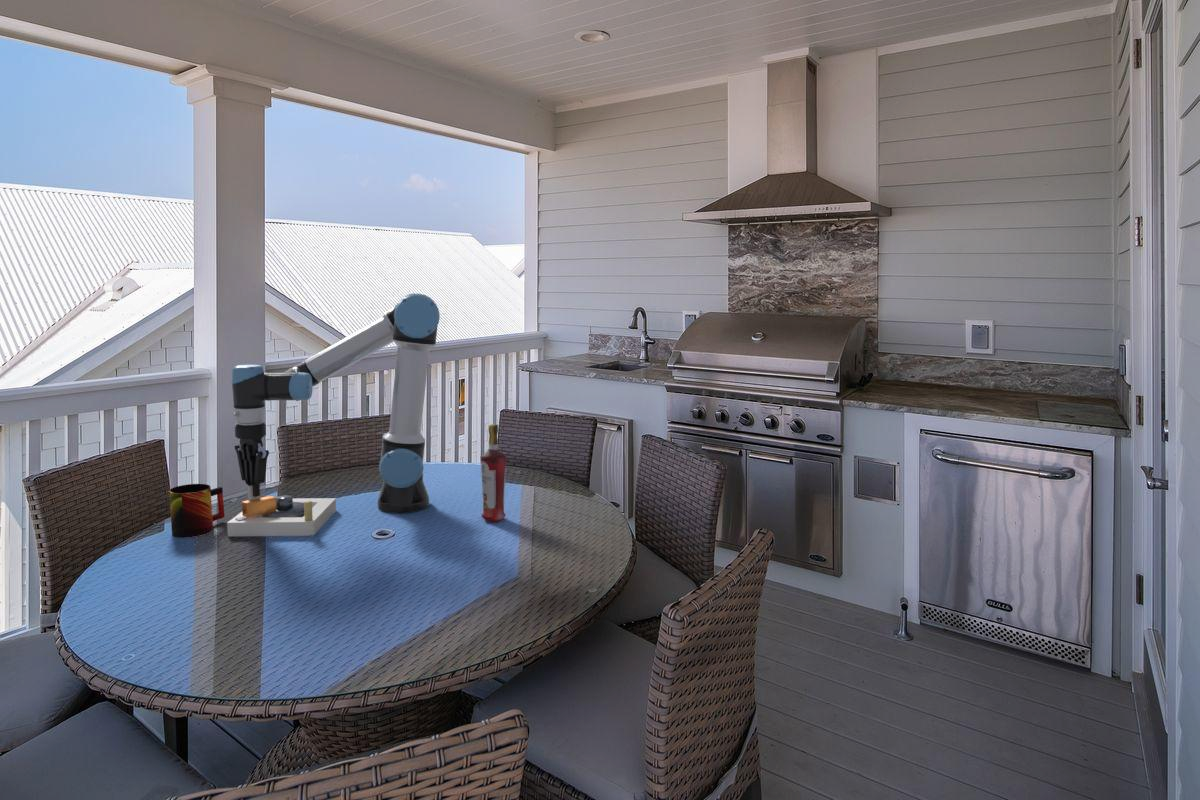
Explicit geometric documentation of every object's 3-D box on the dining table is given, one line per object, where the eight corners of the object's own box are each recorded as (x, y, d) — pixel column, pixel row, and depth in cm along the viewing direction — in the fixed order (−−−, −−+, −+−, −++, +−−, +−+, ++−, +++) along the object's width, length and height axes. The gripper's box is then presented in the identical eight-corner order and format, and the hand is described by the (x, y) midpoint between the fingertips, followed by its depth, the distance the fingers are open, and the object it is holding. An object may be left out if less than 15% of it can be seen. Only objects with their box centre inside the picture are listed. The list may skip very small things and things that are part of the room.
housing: (336, 510, 213) (335, 481, 212) (313, 535, 191) (312, 503, 190) (259, 511, 211) (258, 482, 210) (228, 536, 189) (226, 504, 188)
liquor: (475, 519, 207) (474, 424, 203) (495, 514, 213) (495, 421, 208) (491, 525, 202) (491, 428, 198) (511, 520, 208) (511, 425, 203)
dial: (294, 505, 209) (293, 486, 208) (316, 514, 202) (315, 494, 201) (235, 519, 196) (233, 498, 195) (255, 529, 189) (254, 507, 188)
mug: (225, 520, 202) (222, 479, 200) (204, 537, 188) (201, 493, 187) (189, 521, 201) (186, 479, 199) (165, 538, 187) (161, 493, 186)
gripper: (223, 421, 193) (228, 505, 196) (249, 427, 186) (254, 515, 189) (250, 417, 199) (254, 499, 203) (276, 423, 192) (280, 508, 195)
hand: (254, 507), depth 196 cm, fingers closed
